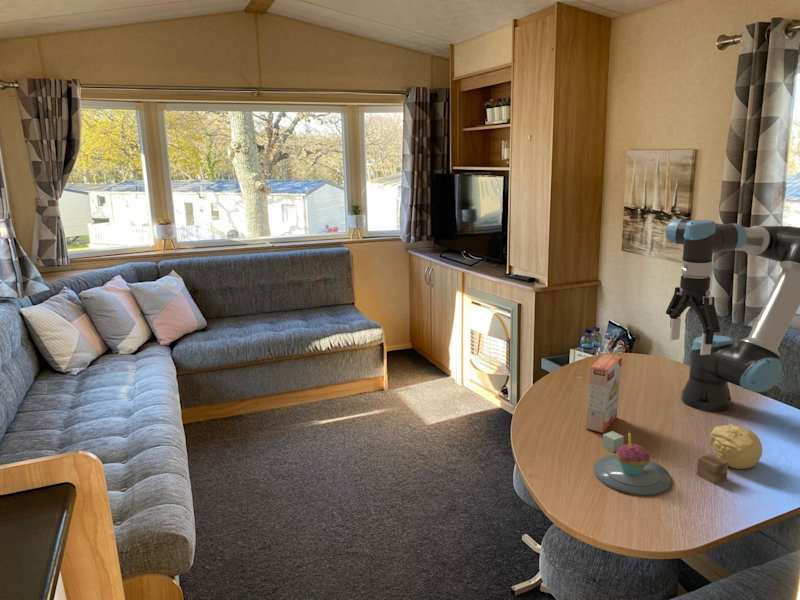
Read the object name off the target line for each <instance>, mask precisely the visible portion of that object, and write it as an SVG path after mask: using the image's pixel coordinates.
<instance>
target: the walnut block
mask: <svg viewBox="0 0 800 600" xmlns="http://www.w3.org/2000/svg"><path fill="white" fill-rule="evenodd" d="M697 461H698V462H697V469H696V476H698V477H700V478H702V479H704V480H705V481H707V482H709V483H711V484H717V483H720V482H722V481H725V480H727V476H728V470H729V466H728V463H729V462H727V461H725V460H723V459H721V458H719V457H717V456H716V455H715V454H713V453H710V454H707V455H703V456H700V457H698V459H697Z"/></svg>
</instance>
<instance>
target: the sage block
mask: <svg viewBox="0 0 800 600" xmlns="http://www.w3.org/2000/svg"><path fill="white" fill-rule="evenodd" d="M624 438H625V436H624V435H622V434H620V433H618V432H616V431H609V432H606V433H602V445H601V446H602V448H604V449H606V450H608V451H610V452H612V453H615V452H616V450H617V449H618V448H619V447H620V446H621V445H624Z"/></svg>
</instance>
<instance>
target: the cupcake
mask: <svg viewBox="0 0 800 600" xmlns="http://www.w3.org/2000/svg"><path fill="white" fill-rule="evenodd" d="M627 436H628V437H627V439H628V443H625V444H623V445H621V446H620V447H619V448H618V449H617V450H616V453H615V455H616V458H617V459H618V460H619V461H620V463H621V466H622V470H623V471H624V472H625V473H626V474H629V475H639V474H641V472H642V470H643V468H644V467H645V465H647V464H649V462H650V460H651V455H650V452H649V451H648V450H647V449H645V447H643V446H641V445H640V444H636V443H632V434H631V432H630V431H628V433H627Z"/></svg>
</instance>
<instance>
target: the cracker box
mask: <svg viewBox="0 0 800 600" xmlns="http://www.w3.org/2000/svg"><path fill="white" fill-rule="evenodd" d="M622 364H623V357H621V356H617V355H611V354H607V353H606V354H604V355H602V356H600V358H599V359H598V360H597V361H595V362H594V363H593V364H592V365H591V366H590V371H589V384H588V386H589V387H588V399H587V411H586V421H585V422H586V423H585V424H586V425H585V429H586V430H589V431H593V432H596V433H597V432H598V433H601V434H605V432H606V431H607V429H609V426H611V424H612V423H613V422H615V420H616V419H617V415H618V406H619V395H620V387H621V386H620V385H621V375H622Z"/></svg>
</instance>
